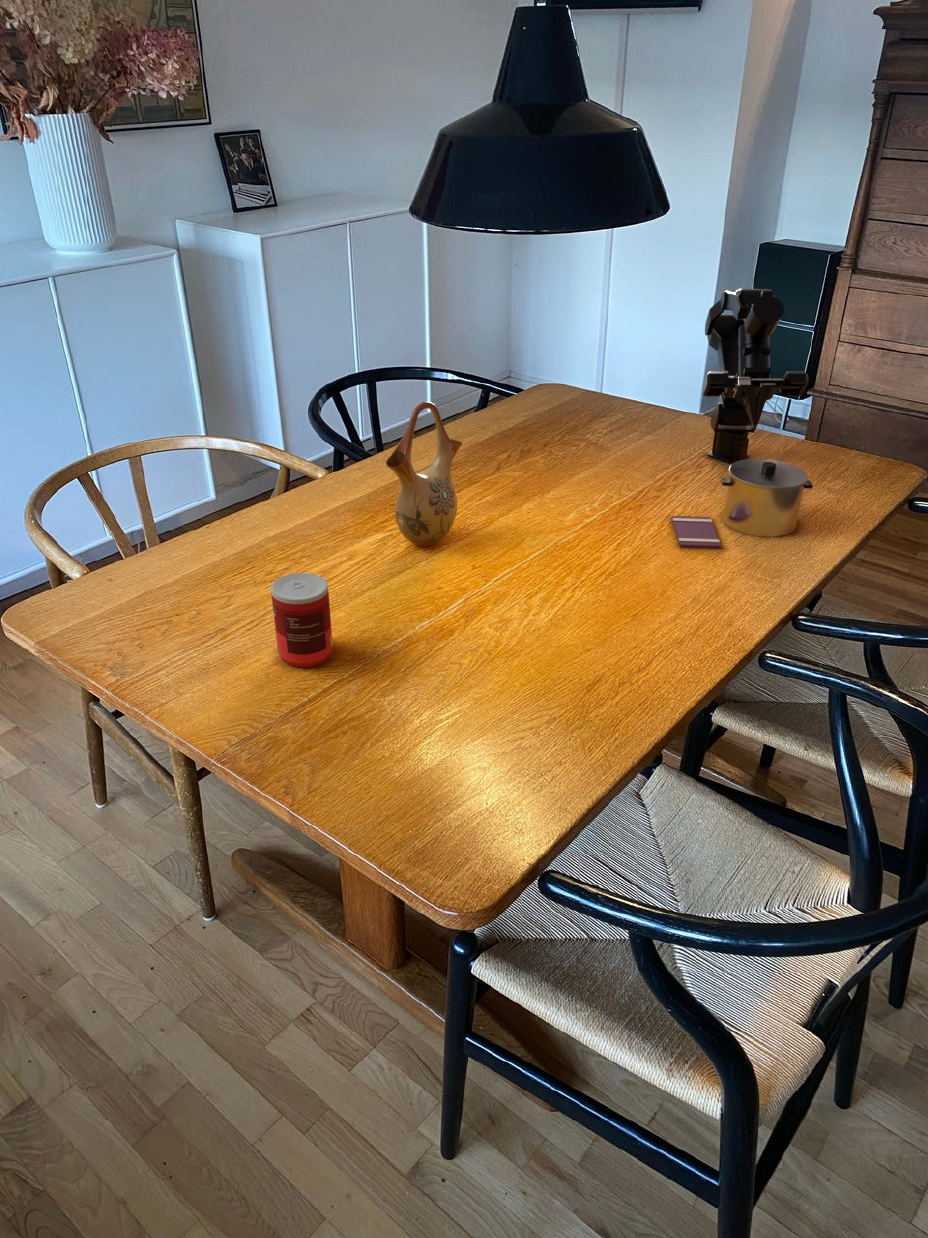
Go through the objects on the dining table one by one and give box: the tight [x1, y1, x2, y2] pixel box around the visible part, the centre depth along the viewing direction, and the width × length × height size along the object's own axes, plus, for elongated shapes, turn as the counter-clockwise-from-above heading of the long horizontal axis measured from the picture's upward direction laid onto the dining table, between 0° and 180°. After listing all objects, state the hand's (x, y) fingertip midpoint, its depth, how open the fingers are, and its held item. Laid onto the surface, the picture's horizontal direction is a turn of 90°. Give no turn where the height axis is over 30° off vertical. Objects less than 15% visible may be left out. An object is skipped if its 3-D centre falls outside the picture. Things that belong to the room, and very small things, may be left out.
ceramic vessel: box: [385, 401, 463, 547], centre depth 157 cm, size 16×9×25 cm, turn 136°
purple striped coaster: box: [671, 515, 722, 550], centre depth 166 cm, size 12×7×1 cm, turn 176°
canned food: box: [270, 572, 334, 669], centre depth 129 cm, size 8×8×11 cm
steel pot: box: [719, 458, 814, 538], centre depth 168 cm, size 14×16×11 cm
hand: (755, 425), depth 176 cm, fingers closed
